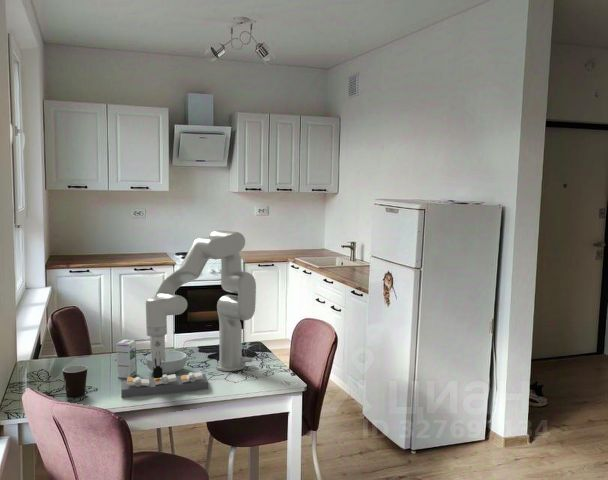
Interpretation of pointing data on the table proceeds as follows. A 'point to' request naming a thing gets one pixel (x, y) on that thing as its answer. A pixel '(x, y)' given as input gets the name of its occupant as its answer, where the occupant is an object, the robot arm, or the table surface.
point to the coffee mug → (75, 380)
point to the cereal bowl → (169, 362)
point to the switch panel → (163, 387)
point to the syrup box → (126, 358)
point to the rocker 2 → (191, 377)
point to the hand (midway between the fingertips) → (157, 377)
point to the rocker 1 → (137, 381)
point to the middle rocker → (165, 379)
